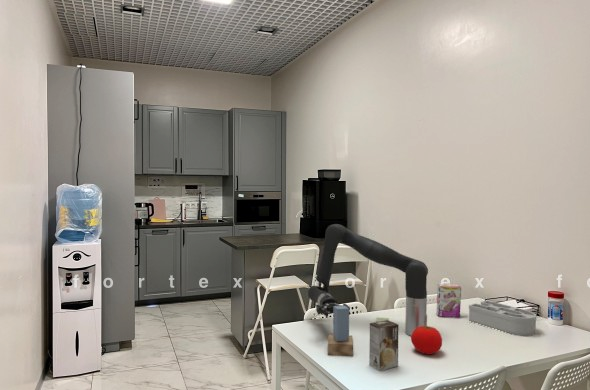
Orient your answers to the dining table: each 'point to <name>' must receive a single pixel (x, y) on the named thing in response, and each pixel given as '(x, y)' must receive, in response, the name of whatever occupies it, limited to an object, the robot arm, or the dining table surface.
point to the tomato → (426, 339)
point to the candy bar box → (448, 300)
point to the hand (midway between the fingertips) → (337, 314)
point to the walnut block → (340, 346)
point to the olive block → (381, 319)
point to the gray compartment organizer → (503, 318)
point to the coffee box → (383, 345)
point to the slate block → (341, 323)
